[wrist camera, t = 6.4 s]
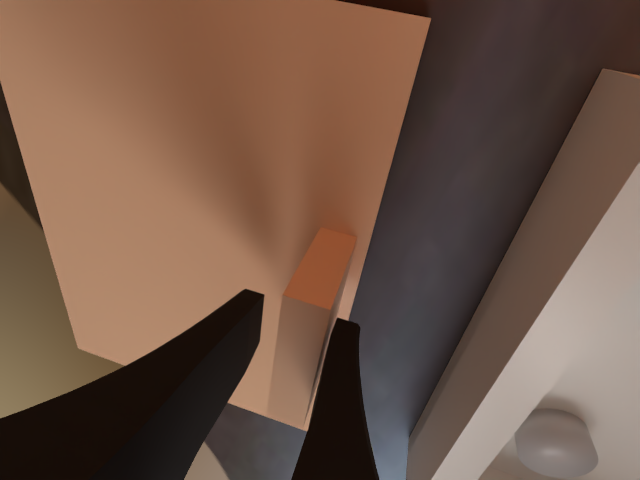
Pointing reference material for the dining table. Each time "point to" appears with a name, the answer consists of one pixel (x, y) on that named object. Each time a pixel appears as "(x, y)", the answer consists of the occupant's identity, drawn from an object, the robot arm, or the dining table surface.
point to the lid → (209, 166)
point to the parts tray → (554, 324)
